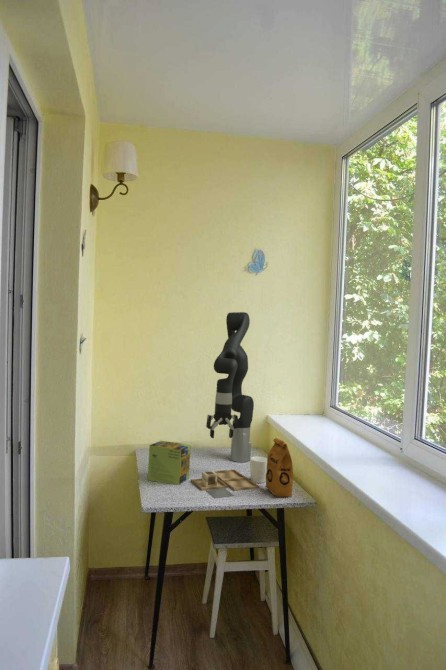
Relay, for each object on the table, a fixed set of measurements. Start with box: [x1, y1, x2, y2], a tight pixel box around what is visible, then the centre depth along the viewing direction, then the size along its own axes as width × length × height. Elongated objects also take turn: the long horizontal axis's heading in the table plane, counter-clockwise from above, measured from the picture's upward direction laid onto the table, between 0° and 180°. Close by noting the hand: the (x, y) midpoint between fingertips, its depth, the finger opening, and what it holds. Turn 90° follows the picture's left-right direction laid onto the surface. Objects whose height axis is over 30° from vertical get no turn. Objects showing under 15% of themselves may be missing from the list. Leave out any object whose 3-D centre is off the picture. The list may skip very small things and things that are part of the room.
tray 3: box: [222, 476, 260, 492], centre depth 222 cm, size 12×12×1 cm
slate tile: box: [204, 488, 235, 499], centre depth 210 cm, size 9×9×1 cm
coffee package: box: [265, 437, 294, 498], centre depth 216 cm, size 10×12×22 cm
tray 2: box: [213, 469, 246, 481], centre depth 233 cm, size 12×12×1 cm
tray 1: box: [190, 477, 229, 492], centre depth 220 cm, size 12×12×1 cm
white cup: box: [249, 456, 267, 484], centre depth 230 cm, size 8×8×10 cm
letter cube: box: [201, 470, 217, 487], centre depth 220 cm, size 5×5×5 cm
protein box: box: [147, 440, 192, 486], centre depth 224 cm, size 10×15×16 cm
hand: (221, 437), depth 233 cm, fingers open, 8 cm apart
